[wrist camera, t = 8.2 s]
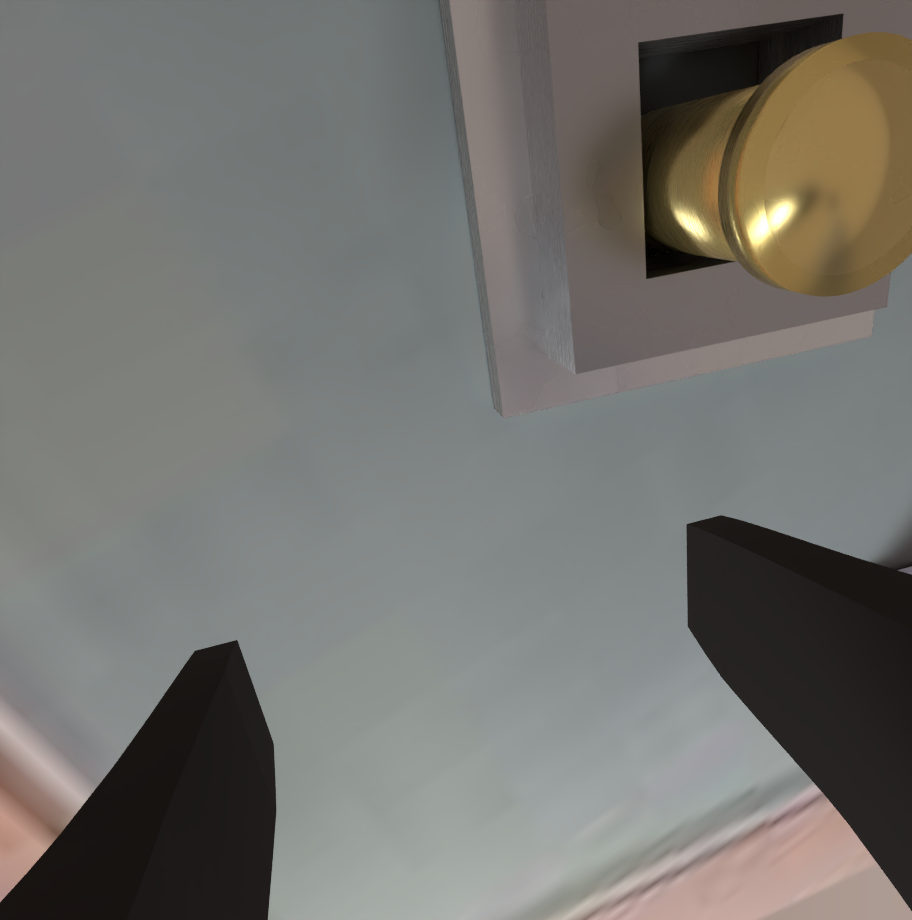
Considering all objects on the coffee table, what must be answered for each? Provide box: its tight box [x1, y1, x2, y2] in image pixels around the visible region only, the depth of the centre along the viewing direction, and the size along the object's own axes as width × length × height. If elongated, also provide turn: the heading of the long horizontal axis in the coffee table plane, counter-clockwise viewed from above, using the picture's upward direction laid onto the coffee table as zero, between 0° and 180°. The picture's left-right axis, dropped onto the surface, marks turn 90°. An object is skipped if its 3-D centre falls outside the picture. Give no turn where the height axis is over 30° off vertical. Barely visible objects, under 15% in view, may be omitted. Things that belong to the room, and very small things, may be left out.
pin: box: [641, 32, 912, 297], centre depth 15 cm, size 4×4×7 cm
